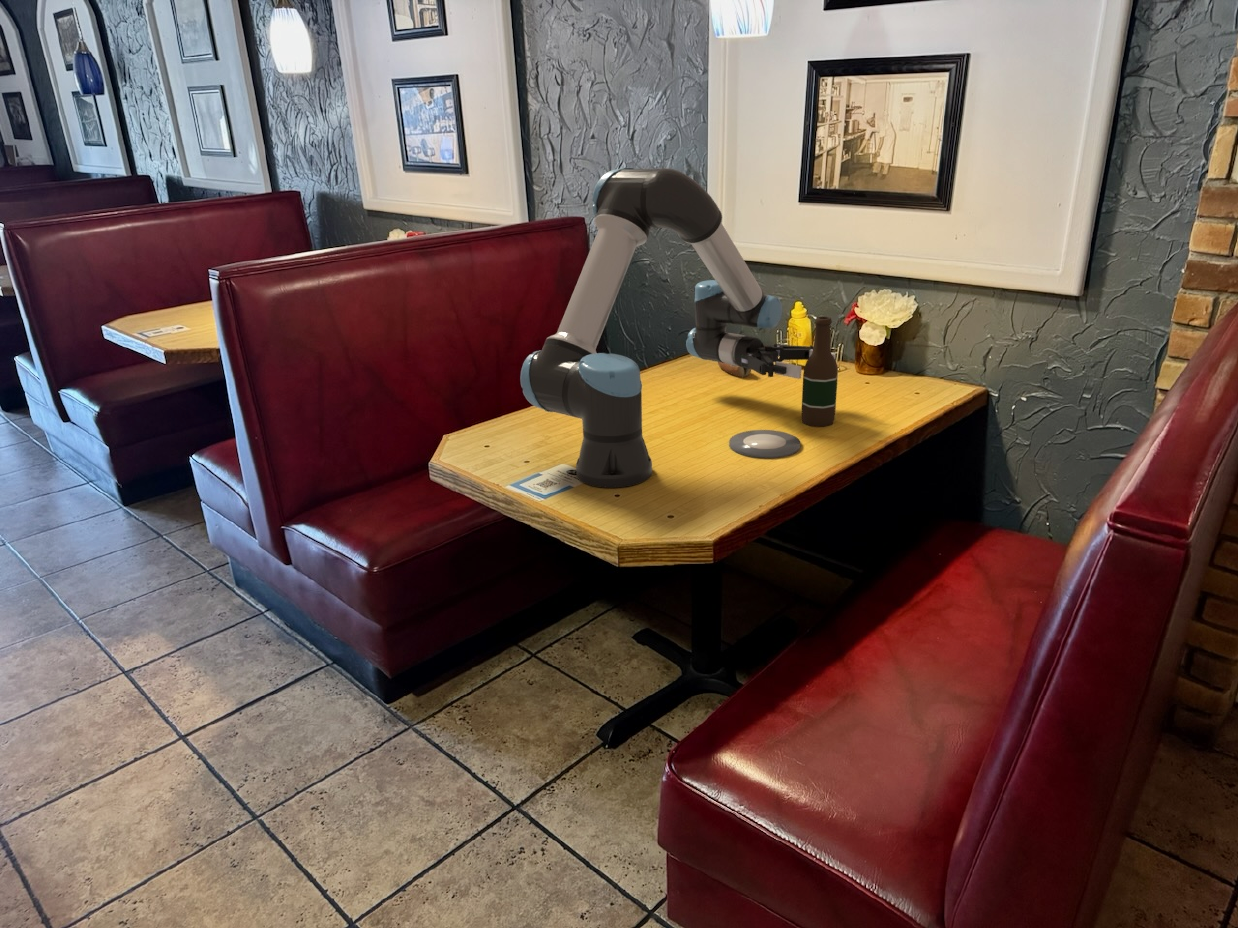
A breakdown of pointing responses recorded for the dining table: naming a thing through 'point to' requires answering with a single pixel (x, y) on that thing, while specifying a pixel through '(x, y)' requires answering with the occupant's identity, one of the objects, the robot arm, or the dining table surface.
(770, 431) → the slate coaster
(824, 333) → the beer bottle
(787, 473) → the dining table surface
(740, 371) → the food
